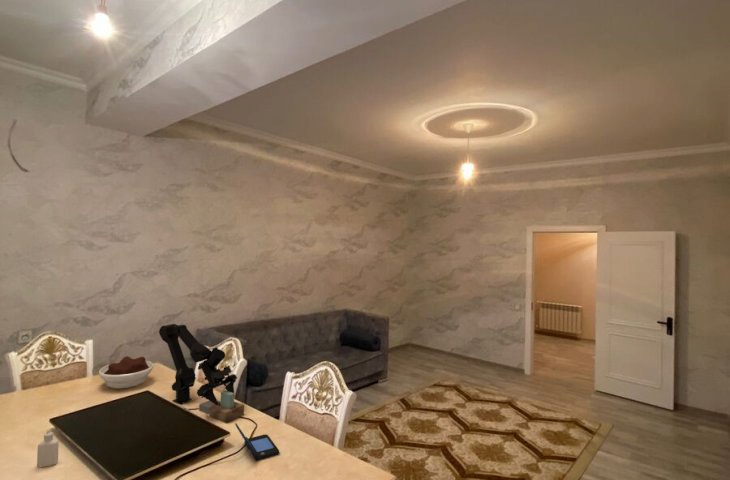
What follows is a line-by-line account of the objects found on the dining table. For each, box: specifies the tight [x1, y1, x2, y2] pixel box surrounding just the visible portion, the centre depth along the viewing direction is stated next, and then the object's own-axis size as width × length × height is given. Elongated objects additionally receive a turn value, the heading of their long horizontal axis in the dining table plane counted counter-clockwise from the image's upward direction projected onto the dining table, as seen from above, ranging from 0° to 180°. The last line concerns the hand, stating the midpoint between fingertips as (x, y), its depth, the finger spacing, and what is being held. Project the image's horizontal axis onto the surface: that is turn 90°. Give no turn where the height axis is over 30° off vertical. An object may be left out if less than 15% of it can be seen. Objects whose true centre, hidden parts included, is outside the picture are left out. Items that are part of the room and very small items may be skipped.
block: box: [219, 389, 235, 410], centre depth 174 cm, size 6×2×9 cm, turn 60°
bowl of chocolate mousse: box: [98, 355, 155, 389], centre depth 206 cm, size 25×25×15 cm
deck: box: [198, 400, 221, 415], centre depth 179 cm, size 8×7×3 cm
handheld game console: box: [234, 422, 280, 461], centre depth 147 cm, size 16×13×9 cm
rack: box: [208, 401, 245, 424], centre depth 174 cm, size 11×10×4 cm
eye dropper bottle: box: [36, 428, 60, 467], centre depth 134 cm, size 4×6×12 cm
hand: (225, 401), depth 175 cm, fingers open, 9 cm apart
